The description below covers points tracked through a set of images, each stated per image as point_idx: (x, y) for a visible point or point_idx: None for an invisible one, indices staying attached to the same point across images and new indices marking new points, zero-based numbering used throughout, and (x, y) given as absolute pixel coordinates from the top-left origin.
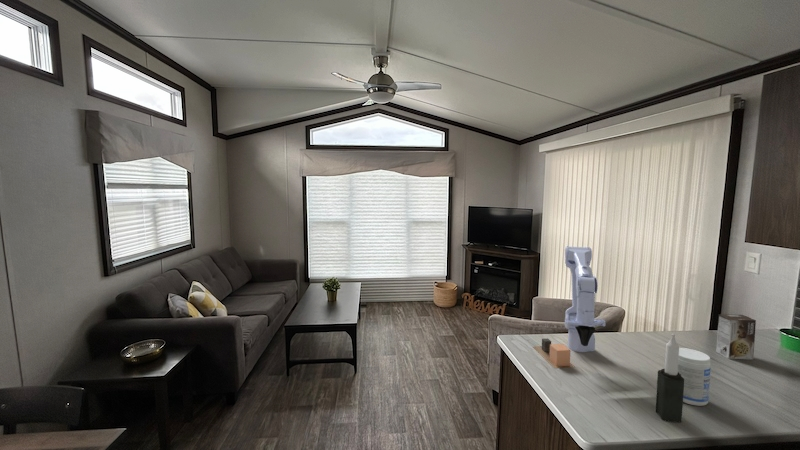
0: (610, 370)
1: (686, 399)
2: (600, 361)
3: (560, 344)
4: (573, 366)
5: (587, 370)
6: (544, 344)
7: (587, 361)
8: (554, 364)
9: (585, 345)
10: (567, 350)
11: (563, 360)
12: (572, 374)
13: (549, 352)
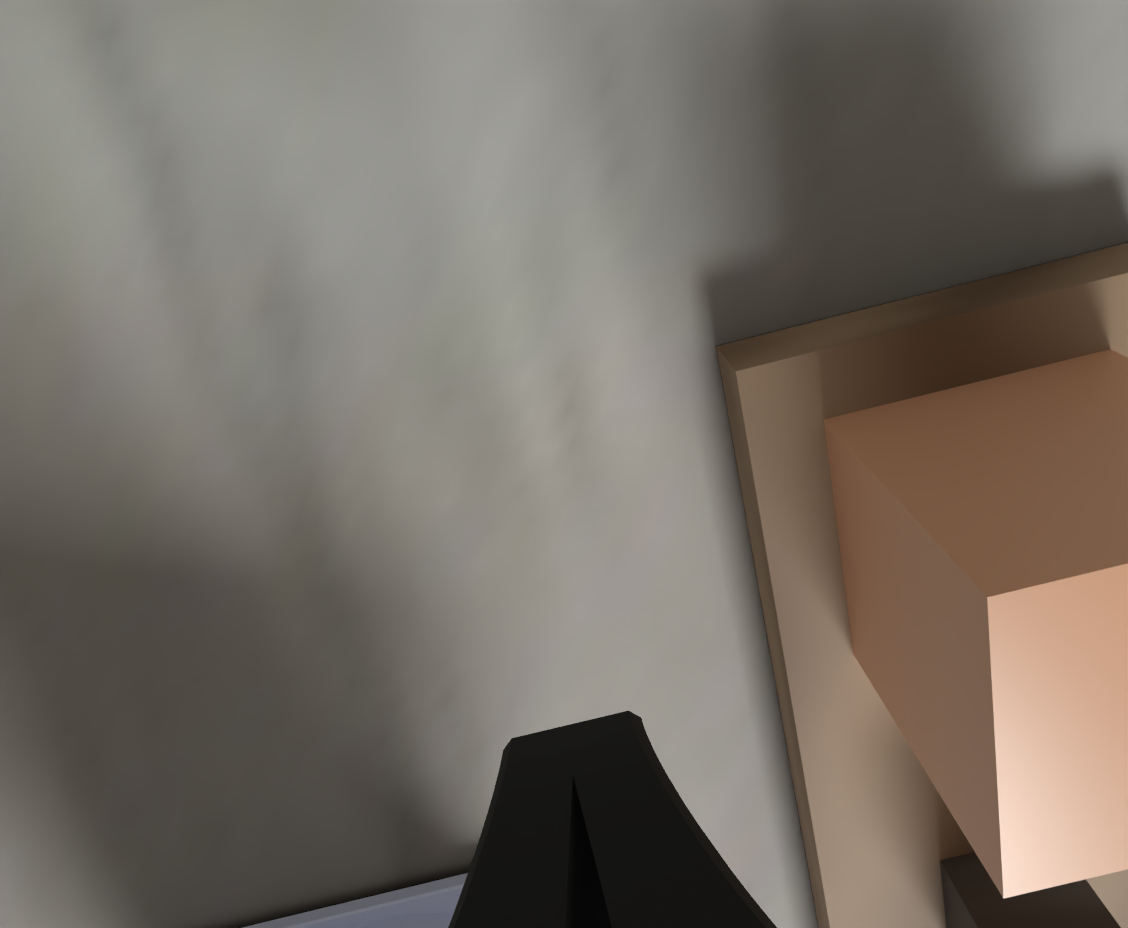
0: (26, 488)
1: None
2: (135, 772)
3: (1078, 867)
4: (766, 394)
5: (471, 413)
6: None
7: (365, 732)
8: None
9: (584, 733)
10: (1075, 571)
11: (1027, 427)
12: (825, 202)
13: None
